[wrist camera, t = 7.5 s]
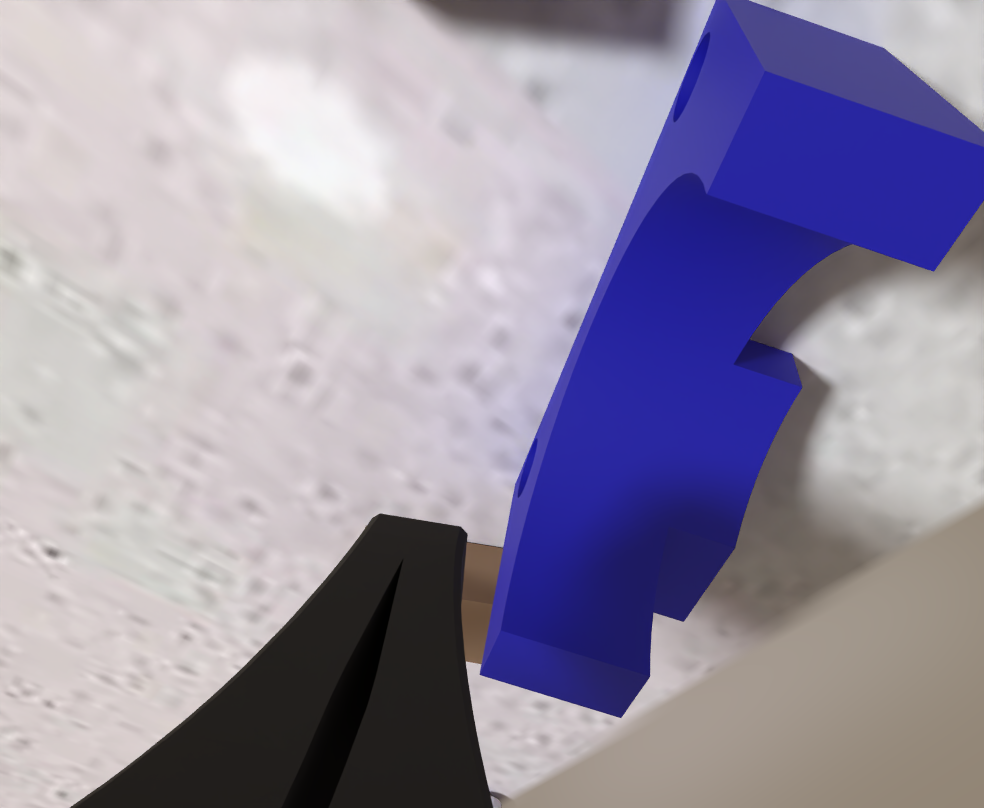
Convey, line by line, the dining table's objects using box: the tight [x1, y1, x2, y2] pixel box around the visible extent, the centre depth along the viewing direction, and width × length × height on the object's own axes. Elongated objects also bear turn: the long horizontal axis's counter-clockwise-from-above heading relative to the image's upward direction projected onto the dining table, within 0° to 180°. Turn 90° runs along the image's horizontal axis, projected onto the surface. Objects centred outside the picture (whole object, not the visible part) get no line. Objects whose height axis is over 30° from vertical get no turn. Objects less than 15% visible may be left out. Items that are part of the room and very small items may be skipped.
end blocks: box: [365, 526, 503, 664], centre depth 17 cm, size 19×4×2 cm, turn 175°
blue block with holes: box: [480, 0, 984, 718], centre depth 15 cm, size 12×4×6 cm, turn 164°
